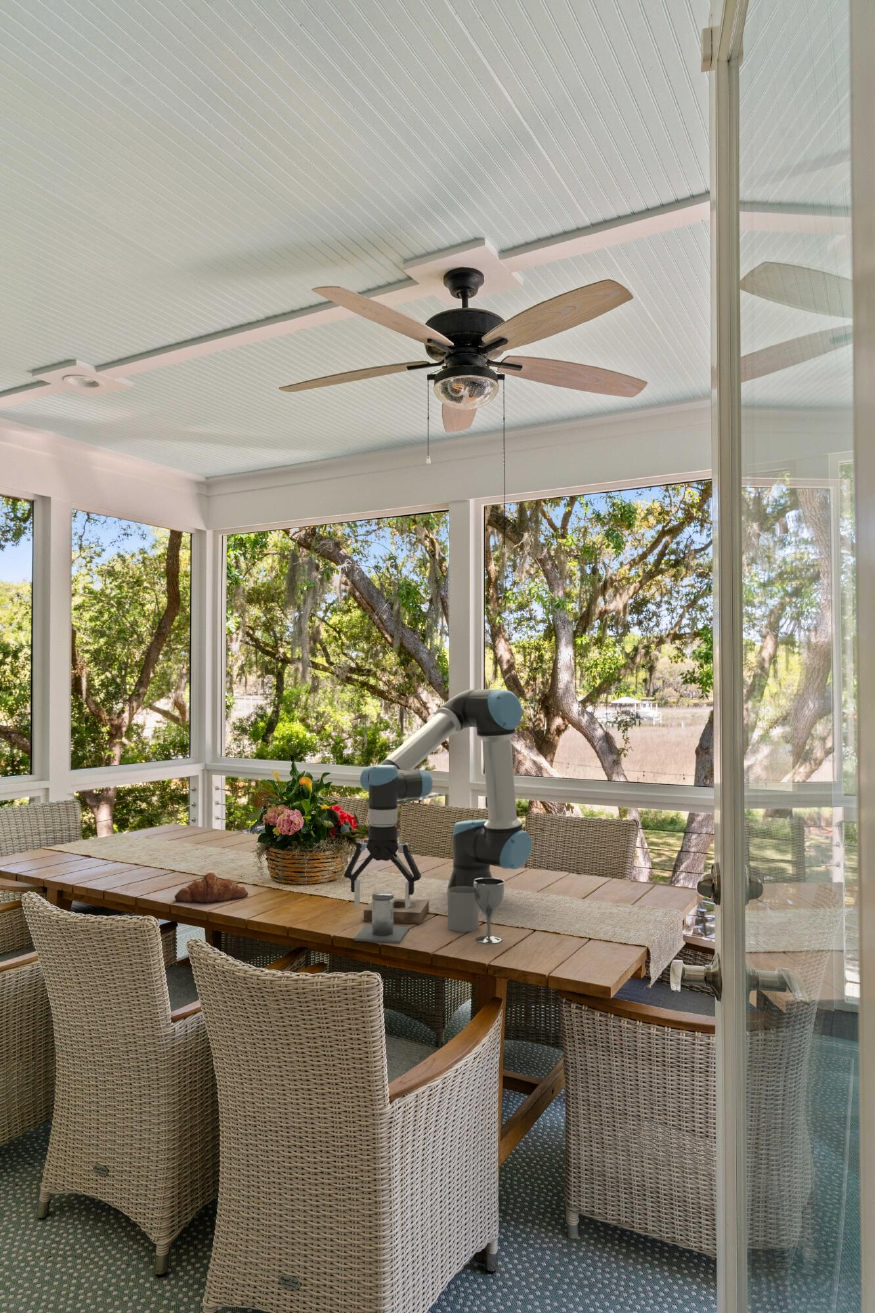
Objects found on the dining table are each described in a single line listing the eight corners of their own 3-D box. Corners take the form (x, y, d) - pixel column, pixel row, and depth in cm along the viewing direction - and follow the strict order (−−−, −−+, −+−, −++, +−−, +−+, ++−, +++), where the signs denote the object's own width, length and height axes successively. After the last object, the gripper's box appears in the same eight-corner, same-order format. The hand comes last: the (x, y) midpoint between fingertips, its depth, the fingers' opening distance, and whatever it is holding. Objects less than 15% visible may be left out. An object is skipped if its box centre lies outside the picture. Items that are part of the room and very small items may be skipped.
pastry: (216, 890, 265) (216, 865, 265) (250, 897, 257) (250, 871, 257) (173, 901, 251) (173, 875, 251) (207, 909, 243) (208, 881, 243)
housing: (428, 910, 242) (428, 900, 242) (420, 923, 228) (420, 912, 228) (375, 907, 244) (375, 897, 244) (363, 920, 230) (363, 910, 230)
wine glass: (502, 935, 218) (502, 877, 218) (506, 944, 210) (506, 884, 210) (472, 935, 218) (472, 877, 218) (474, 944, 210) (474, 884, 210)
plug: (395, 930, 220) (395, 891, 220) (390, 936, 214) (391, 897, 214) (375, 929, 220) (375, 891, 221) (369, 935, 215) (369, 896, 215)
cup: (460, 921, 231) (460, 884, 231) (484, 926, 226) (484, 889, 226) (441, 927, 224) (441, 890, 225) (465, 933, 219) (465, 895, 219)
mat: (408, 929, 222) (408, 927, 222) (399, 943, 210) (399, 940, 210) (365, 927, 224) (365, 925, 224) (353, 940, 212) (353, 938, 212)
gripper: (431, 823, 220) (431, 904, 219) (340, 820, 224) (340, 900, 223) (427, 828, 213) (426, 912, 212) (333, 825, 217) (332, 907, 216)
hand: (382, 906), depth 217 cm, fingers open, 13 cm apart
